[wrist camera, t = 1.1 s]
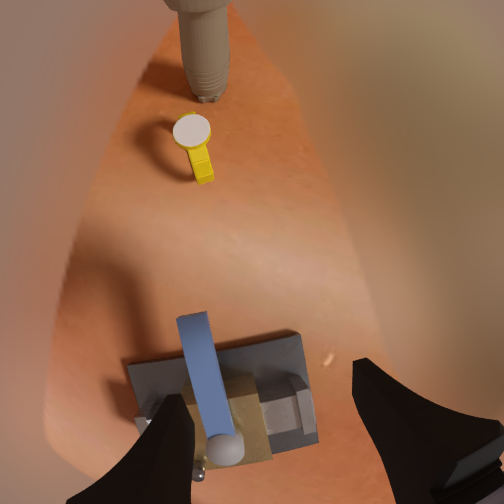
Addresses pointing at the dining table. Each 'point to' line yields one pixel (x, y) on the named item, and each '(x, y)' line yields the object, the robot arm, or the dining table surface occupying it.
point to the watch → (195, 143)
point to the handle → (204, 45)
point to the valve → (240, 397)
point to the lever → (210, 390)
